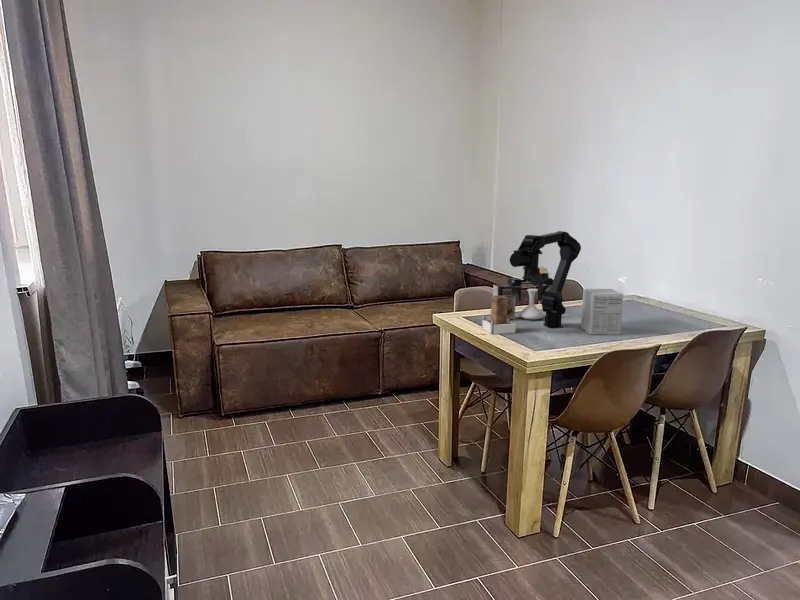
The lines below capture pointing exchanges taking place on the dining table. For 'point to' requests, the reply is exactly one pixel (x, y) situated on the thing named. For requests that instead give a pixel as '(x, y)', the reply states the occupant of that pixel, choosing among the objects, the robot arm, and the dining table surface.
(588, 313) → the supplement box
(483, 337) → the dining table surface
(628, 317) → the dining table surface
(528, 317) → the flower in vase
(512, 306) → the coffee box
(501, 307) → the brown block
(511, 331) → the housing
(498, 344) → the dining table surface
